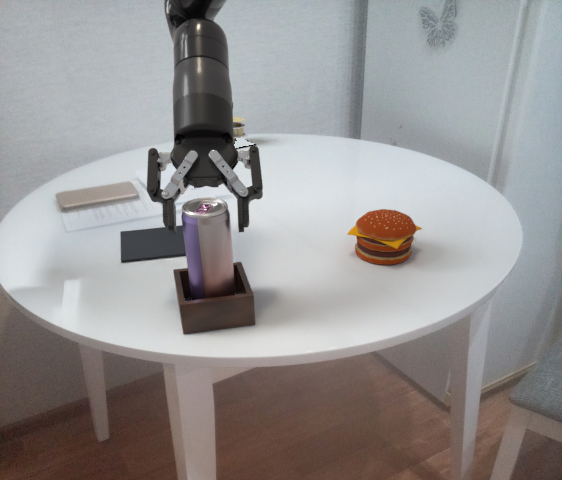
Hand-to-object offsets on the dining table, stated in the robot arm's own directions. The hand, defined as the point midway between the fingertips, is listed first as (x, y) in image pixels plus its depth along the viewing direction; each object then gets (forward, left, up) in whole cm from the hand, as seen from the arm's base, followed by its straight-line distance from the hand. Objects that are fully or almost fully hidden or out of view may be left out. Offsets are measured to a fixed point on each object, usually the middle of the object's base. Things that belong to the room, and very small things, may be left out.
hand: (207, 231), depth 69 cm
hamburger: (+29, +12, -12) cm, 34 cm away
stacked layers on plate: (+14, +75, -12) cm, 77 cm away
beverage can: (0, +1, -12) cm, 12 cm away
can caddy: (0, +1, -12) cm, 12 cm away
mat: (-7, +24, -12) cm, 28 cm away
